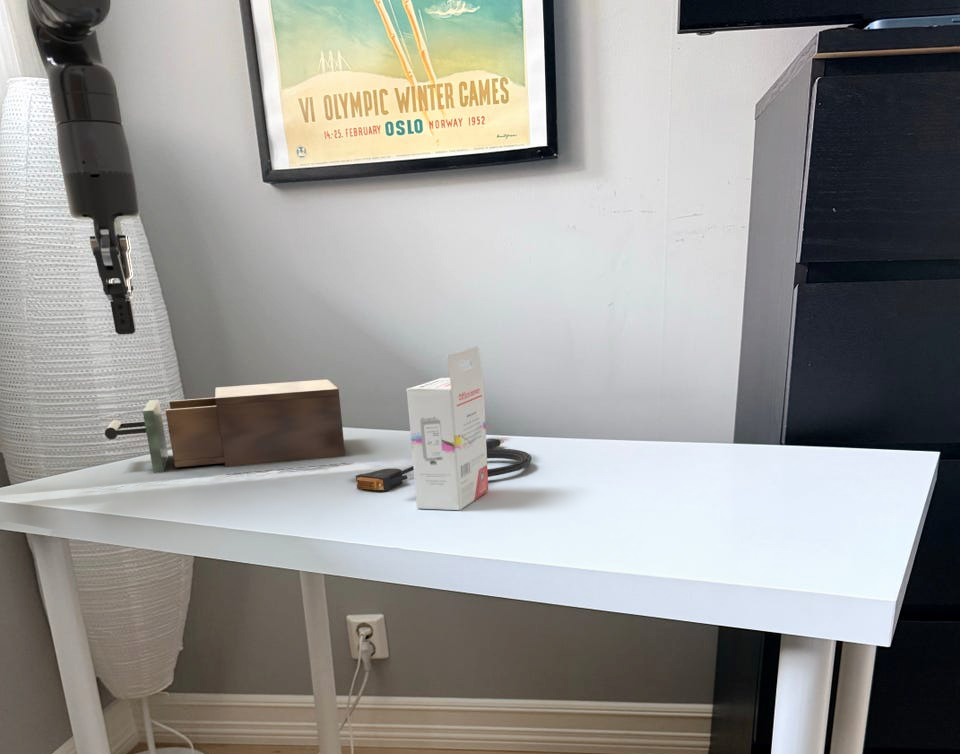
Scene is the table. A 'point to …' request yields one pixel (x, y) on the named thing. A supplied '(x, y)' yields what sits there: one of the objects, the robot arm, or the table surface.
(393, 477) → the cable
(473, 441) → the ink cartridge box
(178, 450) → the drawer
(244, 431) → the cabinet
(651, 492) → the table surface
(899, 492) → the table surface
